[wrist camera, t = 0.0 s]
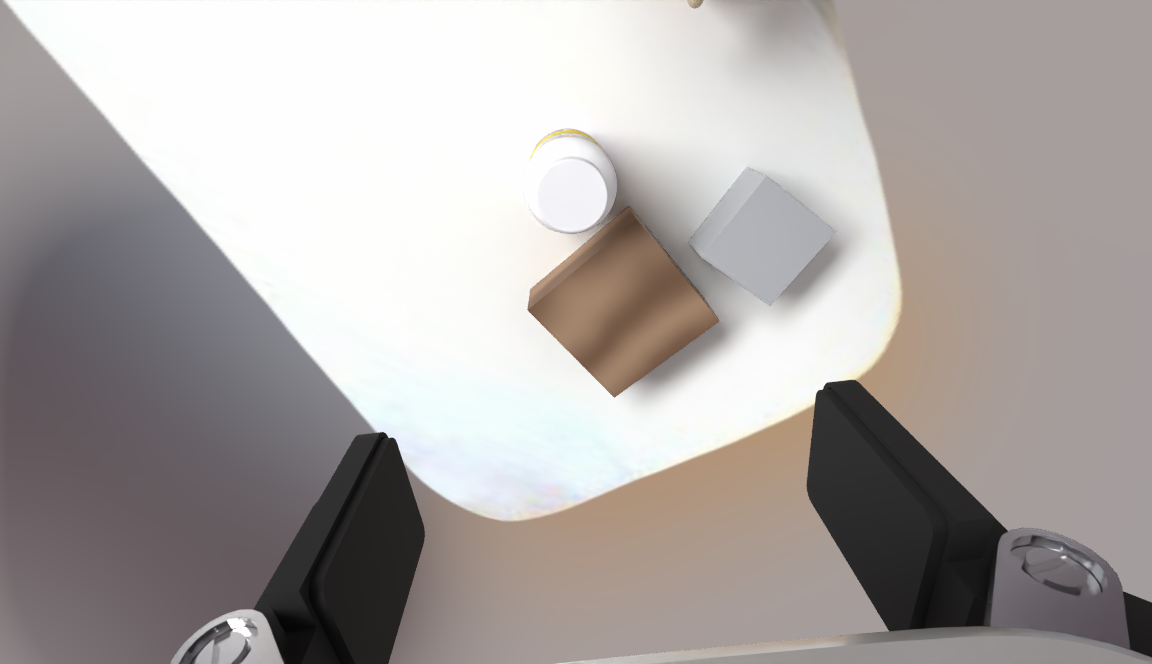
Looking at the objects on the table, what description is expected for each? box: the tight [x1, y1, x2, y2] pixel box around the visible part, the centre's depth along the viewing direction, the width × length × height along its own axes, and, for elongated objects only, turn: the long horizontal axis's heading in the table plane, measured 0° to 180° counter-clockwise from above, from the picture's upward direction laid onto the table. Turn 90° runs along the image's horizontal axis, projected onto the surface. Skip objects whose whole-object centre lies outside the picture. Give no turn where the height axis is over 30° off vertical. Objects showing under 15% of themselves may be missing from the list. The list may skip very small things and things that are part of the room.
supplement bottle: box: [523, 129, 617, 234], centre depth 39 cm, size 7×7×13 cm
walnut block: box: [528, 207, 719, 398], centre depth 48 cm, size 12×12×5 cm
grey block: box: [688, 167, 836, 306], centre depth 46 cm, size 8×8×5 cm
